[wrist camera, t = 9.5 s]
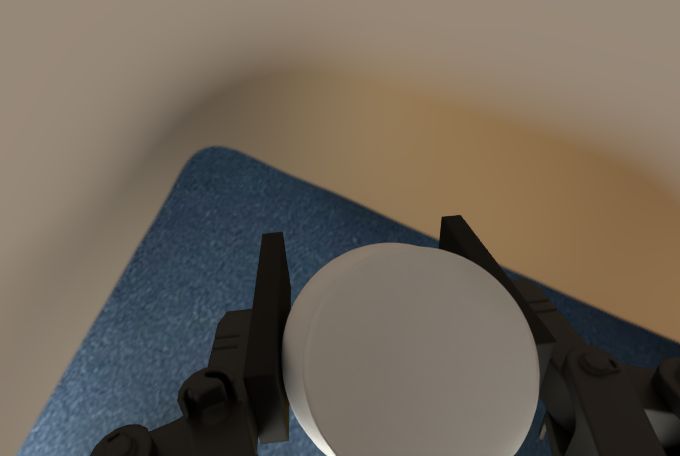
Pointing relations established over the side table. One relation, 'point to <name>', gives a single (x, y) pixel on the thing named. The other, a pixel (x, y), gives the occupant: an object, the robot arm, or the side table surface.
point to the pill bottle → (409, 357)
